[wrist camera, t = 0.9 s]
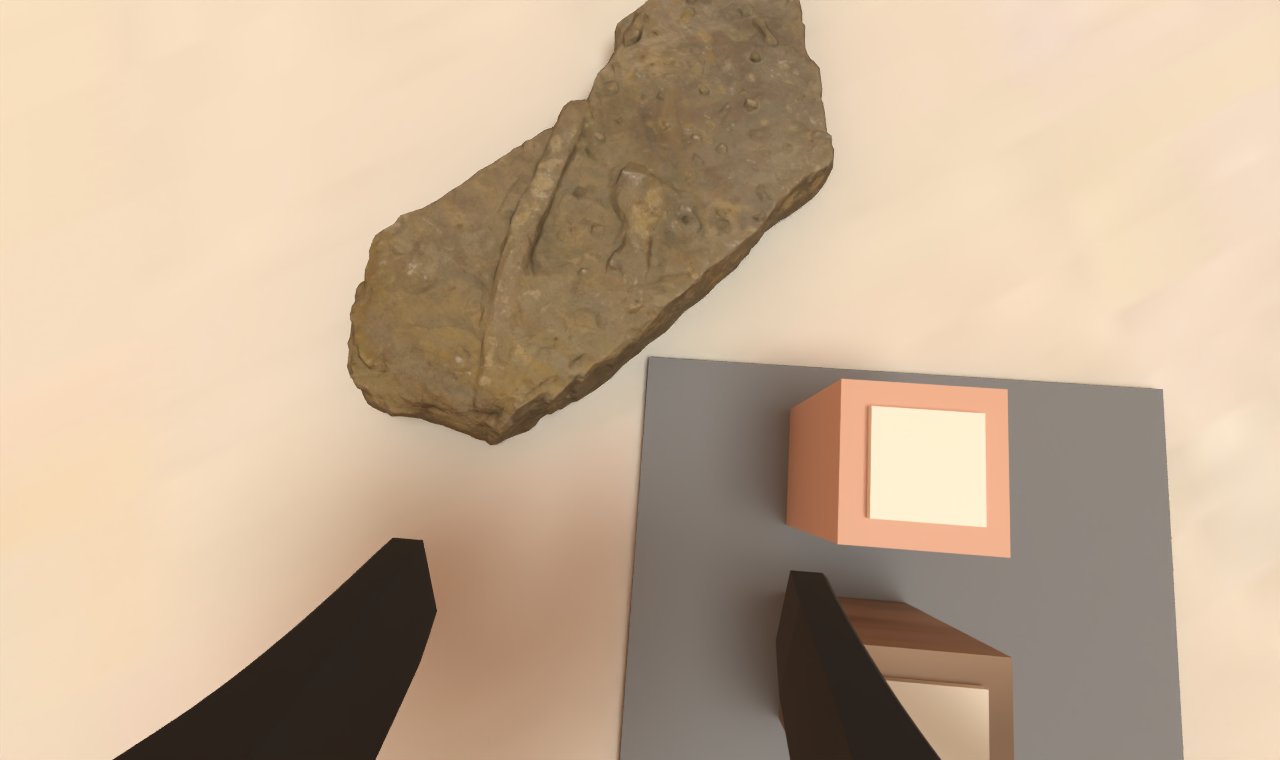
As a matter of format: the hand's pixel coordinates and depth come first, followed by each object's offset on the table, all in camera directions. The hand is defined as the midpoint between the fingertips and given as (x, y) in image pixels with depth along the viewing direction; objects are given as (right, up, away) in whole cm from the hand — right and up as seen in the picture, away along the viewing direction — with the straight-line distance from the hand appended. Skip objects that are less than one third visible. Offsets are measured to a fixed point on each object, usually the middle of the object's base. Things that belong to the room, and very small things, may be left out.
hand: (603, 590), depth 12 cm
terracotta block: (+9, +1, +12) cm, 15 cm away
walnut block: (+8, -6, +11) cm, 15 cm away
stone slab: (0, +12, +15) cm, 19 cm away
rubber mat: (+10, -3, +12) cm, 16 cm away
